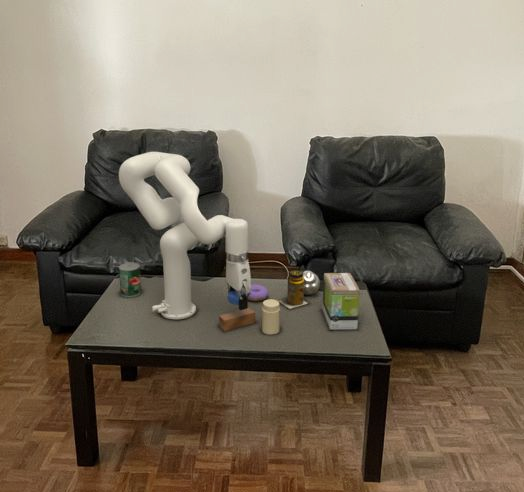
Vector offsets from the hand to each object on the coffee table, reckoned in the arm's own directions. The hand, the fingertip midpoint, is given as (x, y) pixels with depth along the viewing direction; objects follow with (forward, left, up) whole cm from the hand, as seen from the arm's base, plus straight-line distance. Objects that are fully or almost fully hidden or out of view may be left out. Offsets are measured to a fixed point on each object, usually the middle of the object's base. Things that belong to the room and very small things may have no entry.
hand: (237, 304), depth 188 cm
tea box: (+33, -15, -8) cm, 37 cm away
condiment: (+26, +4, -8) cm, 27 cm away
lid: (0, 0, +3) cm, 3 cm away
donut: (+16, +15, -8) cm, 23 cm away
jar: (+8, -9, -8) cm, 14 cm away
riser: (0, 0, -8) cm, 8 cm away
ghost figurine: (+35, +7, -8) cm, 36 cm away
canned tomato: (-24, +43, -8) cm, 50 cm away
